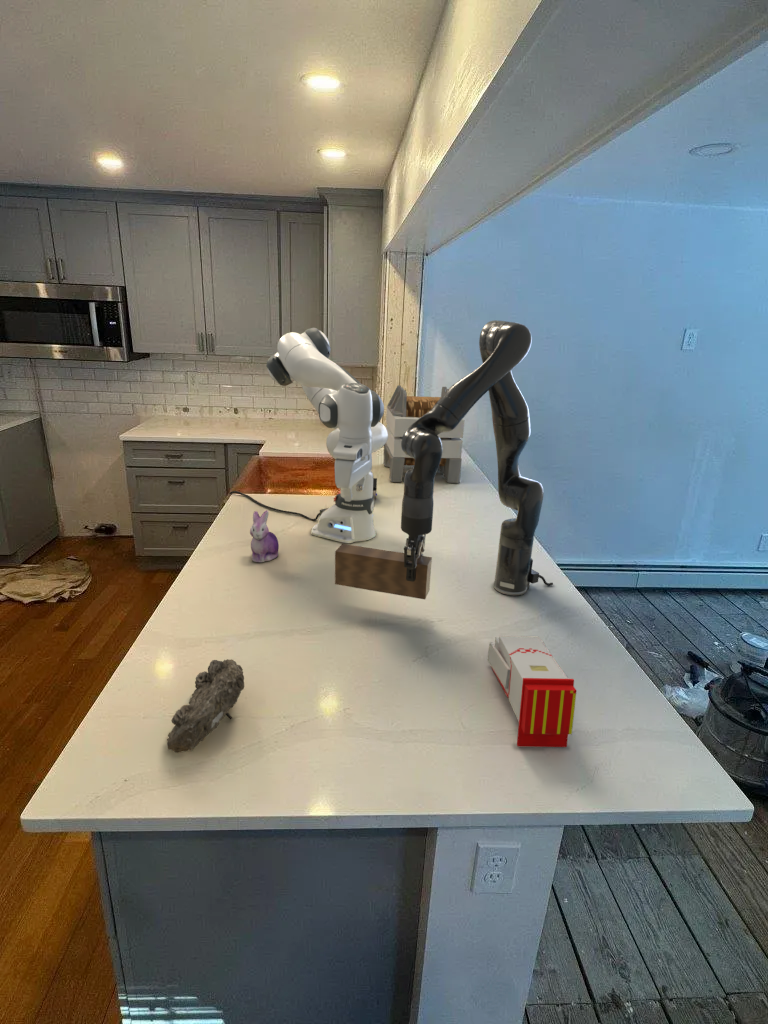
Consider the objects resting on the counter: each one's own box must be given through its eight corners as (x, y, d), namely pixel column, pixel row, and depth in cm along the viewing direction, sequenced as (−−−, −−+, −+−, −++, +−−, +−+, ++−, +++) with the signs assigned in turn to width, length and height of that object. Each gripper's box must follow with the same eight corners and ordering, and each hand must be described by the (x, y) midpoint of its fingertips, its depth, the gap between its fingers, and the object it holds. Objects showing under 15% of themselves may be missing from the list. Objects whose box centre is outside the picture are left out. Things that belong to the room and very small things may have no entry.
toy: (536, 619, 129) (586, 686, 99) (531, 673, 131) (578, 754, 102) (483, 618, 128) (517, 685, 99) (479, 672, 131) (511, 753, 102)
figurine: (254, 565, 170) (252, 519, 165) (245, 552, 179) (243, 508, 174) (284, 560, 175) (283, 515, 169) (274, 548, 183) (273, 504, 178)
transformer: (382, 463, 289) (386, 382, 275) (445, 464, 293) (451, 384, 279) (390, 482, 257) (394, 392, 243) (460, 483, 261) (468, 394, 247)
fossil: (192, 660, 117) (244, 628, 112) (224, 691, 120) (276, 661, 115) (142, 746, 98) (202, 712, 93) (182, 779, 101) (242, 748, 96)
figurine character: (377, 508, 228) (376, 492, 242) (377, 490, 225) (377, 476, 238) (360, 507, 228) (361, 492, 242) (360, 490, 225) (361, 475, 238)
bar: (334, 584, 146) (335, 551, 143) (341, 575, 151) (342, 543, 147) (425, 599, 140) (427, 565, 137) (429, 590, 145) (431, 557, 142)
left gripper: (356, 437, 161) (356, 484, 166) (330, 453, 143) (330, 505, 147) (378, 439, 159) (376, 486, 164) (354, 455, 141) (353, 508, 145)
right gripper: (426, 524, 129) (421, 590, 134) (438, 504, 142) (433, 566, 147) (394, 519, 130) (391, 585, 136) (409, 501, 143) (405, 562, 149)
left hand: (354, 495), depth 155 cm, fingers open, 8 cm apart
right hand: (413, 575), depth 142 cm, fingers closed on bar, 5 cm apart
